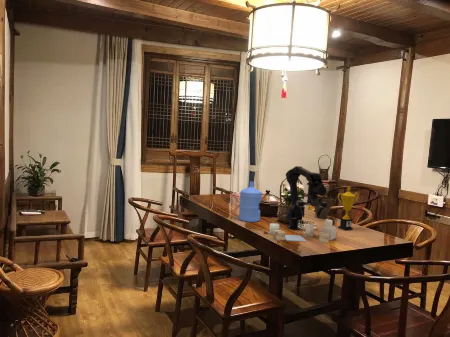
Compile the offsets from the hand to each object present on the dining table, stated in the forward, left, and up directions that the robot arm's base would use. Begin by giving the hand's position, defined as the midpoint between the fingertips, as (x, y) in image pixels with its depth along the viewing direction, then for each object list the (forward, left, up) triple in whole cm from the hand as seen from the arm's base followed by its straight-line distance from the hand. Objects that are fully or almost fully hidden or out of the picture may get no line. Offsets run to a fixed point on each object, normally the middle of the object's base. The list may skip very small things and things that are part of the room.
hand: (310, 217), depth 236 cm
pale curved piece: (-3, -22, -12) cm, 25 cm away
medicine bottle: (+4, +11, -12) cm, 17 cm away
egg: (0, 0, -12) cm, 12 cm away
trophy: (-21, +33, -12) cm, 41 cm away
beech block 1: (+10, -22, -12) cm, 27 cm away
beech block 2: (+12, +5, -12) cm, 18 cm away
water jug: (-39, -32, -12) cm, 52 cm away
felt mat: (+7, -12, -12) cm, 18 cm away
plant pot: (-54, +28, -12) cm, 62 cm away
